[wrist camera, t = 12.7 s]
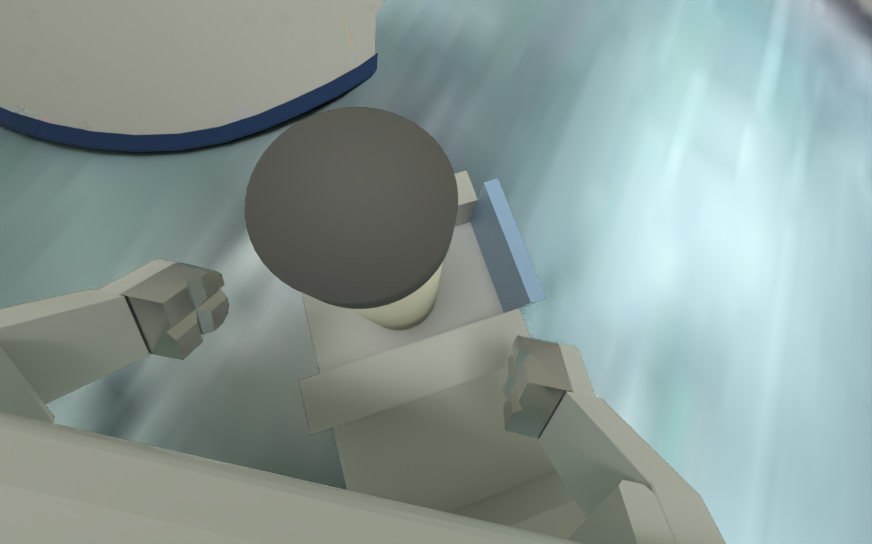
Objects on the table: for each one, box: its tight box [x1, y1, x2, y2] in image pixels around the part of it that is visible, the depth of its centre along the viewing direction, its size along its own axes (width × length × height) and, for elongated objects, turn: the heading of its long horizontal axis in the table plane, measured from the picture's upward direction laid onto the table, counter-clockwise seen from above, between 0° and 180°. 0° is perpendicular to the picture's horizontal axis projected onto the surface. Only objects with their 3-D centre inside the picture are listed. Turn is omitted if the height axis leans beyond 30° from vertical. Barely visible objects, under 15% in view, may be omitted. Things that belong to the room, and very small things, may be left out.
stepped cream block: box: [299, 171, 586, 540], centre depth 13 cm, size 22×10×6 cm, turn 18°
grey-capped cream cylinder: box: [245, 107, 458, 330], centre depth 11 cm, size 4×4×10 cm
